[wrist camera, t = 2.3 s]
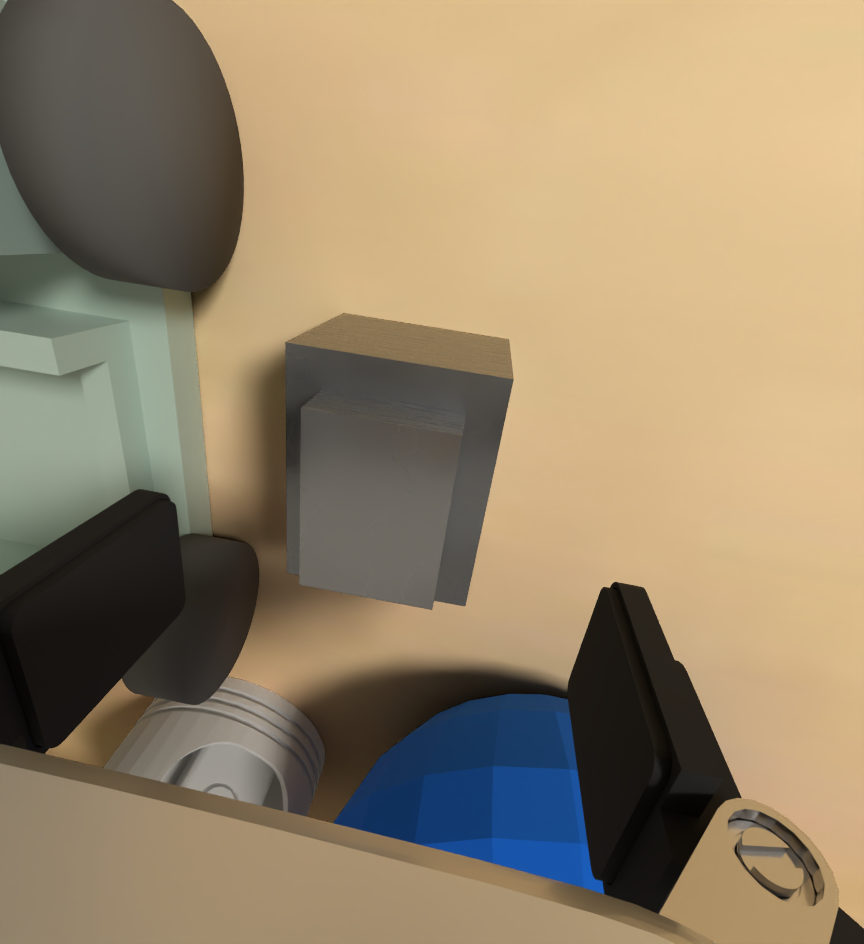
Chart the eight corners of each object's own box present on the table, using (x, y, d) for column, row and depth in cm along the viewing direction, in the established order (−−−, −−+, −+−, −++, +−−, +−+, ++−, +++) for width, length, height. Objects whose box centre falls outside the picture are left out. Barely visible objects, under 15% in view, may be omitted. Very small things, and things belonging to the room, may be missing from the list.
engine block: (344, 312, 16) (257, 356, 10) (509, 338, 16) (516, 398, 10) (336, 494, 19) (265, 606, 13) (472, 519, 19) (461, 644, 13)
